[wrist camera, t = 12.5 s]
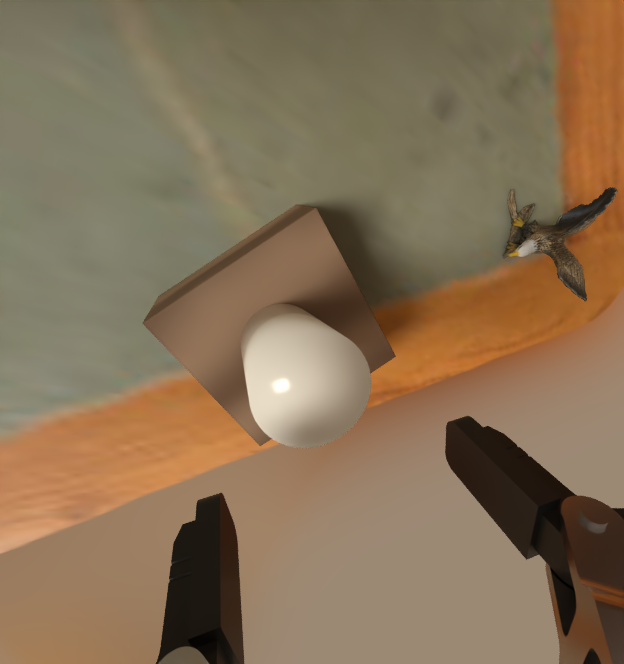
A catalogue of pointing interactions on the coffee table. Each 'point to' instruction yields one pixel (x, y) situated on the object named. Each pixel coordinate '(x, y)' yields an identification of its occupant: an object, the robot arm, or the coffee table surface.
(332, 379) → the ceramic capsule
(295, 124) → the coffee table surface
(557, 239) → the eagle figurine
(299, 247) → the walnut block
